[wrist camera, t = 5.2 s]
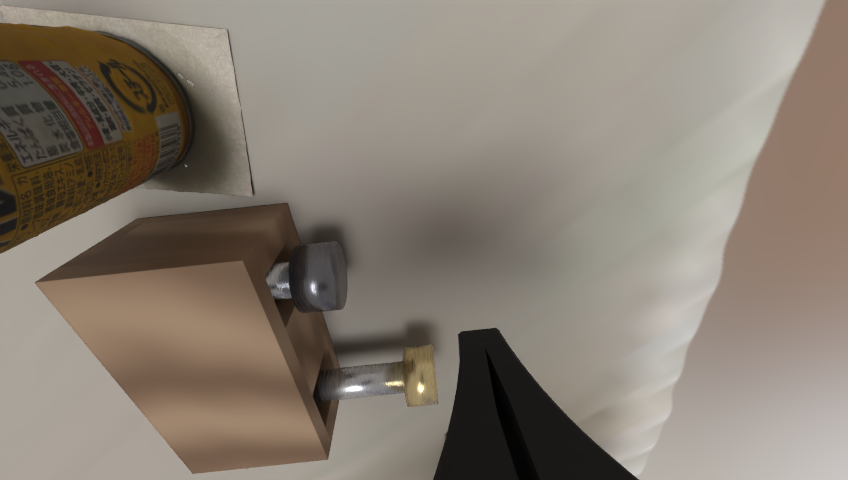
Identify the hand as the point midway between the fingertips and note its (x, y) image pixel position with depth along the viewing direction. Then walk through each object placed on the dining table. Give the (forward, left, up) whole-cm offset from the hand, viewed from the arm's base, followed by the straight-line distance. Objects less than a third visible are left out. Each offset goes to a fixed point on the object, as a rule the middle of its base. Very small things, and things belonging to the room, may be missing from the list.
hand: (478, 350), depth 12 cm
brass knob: (-8, +6, -7) cm, 12 cm away
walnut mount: (-4, +13, -8) cm, 16 cm away
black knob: (0, +10, -7) cm, 13 cm away
